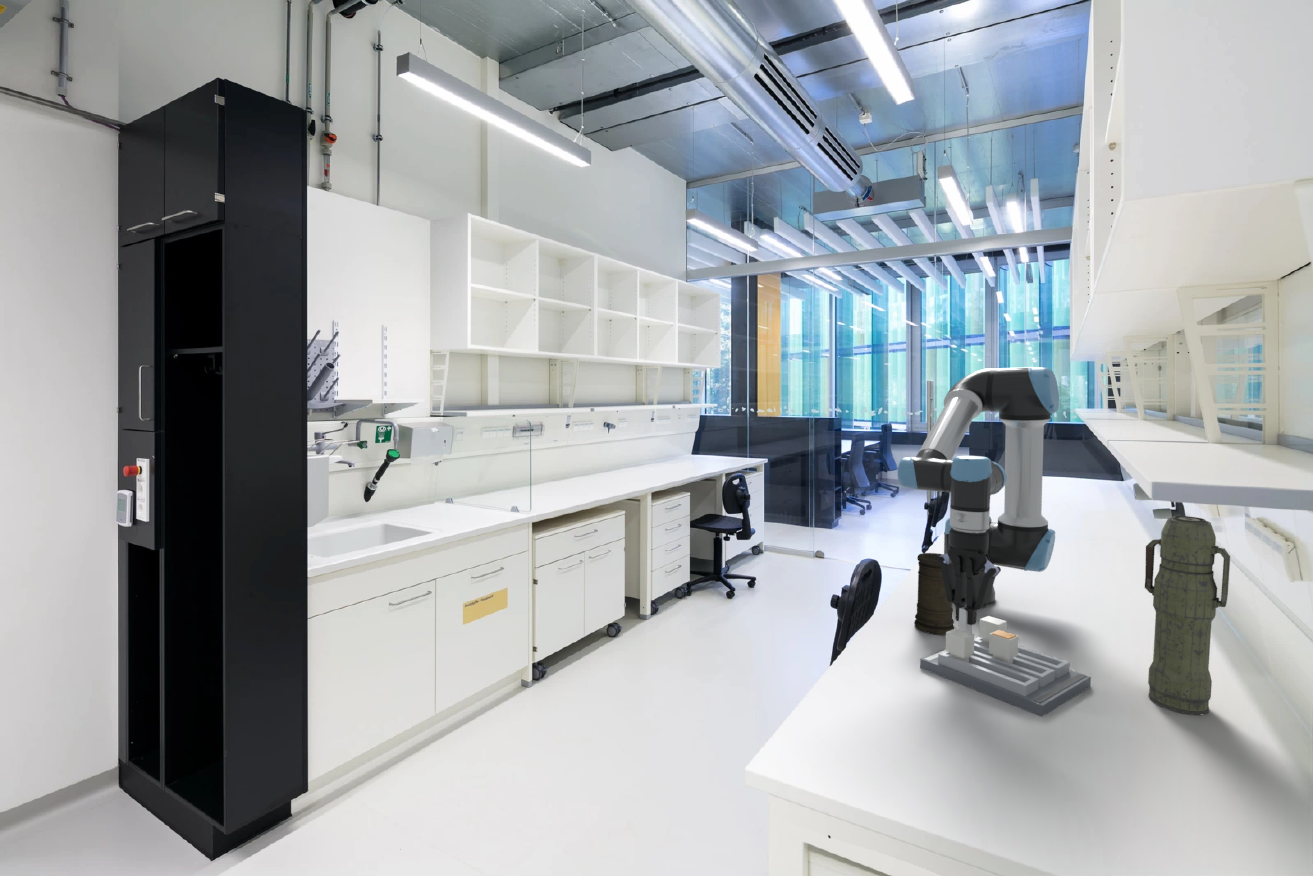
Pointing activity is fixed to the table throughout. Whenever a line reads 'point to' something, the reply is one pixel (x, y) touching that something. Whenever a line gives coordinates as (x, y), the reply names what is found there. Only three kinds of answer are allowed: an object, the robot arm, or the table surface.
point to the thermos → (1184, 613)
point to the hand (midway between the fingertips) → (965, 637)
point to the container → (932, 597)
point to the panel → (1006, 670)
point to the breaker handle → (1003, 645)
